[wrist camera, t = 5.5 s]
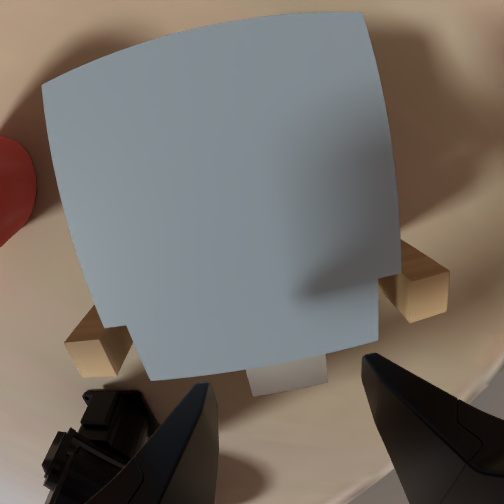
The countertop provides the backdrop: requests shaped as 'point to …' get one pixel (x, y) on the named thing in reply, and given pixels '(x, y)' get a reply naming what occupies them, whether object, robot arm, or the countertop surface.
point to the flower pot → (15, 188)
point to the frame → (393, 287)
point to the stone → (288, 375)
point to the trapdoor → (231, 190)
